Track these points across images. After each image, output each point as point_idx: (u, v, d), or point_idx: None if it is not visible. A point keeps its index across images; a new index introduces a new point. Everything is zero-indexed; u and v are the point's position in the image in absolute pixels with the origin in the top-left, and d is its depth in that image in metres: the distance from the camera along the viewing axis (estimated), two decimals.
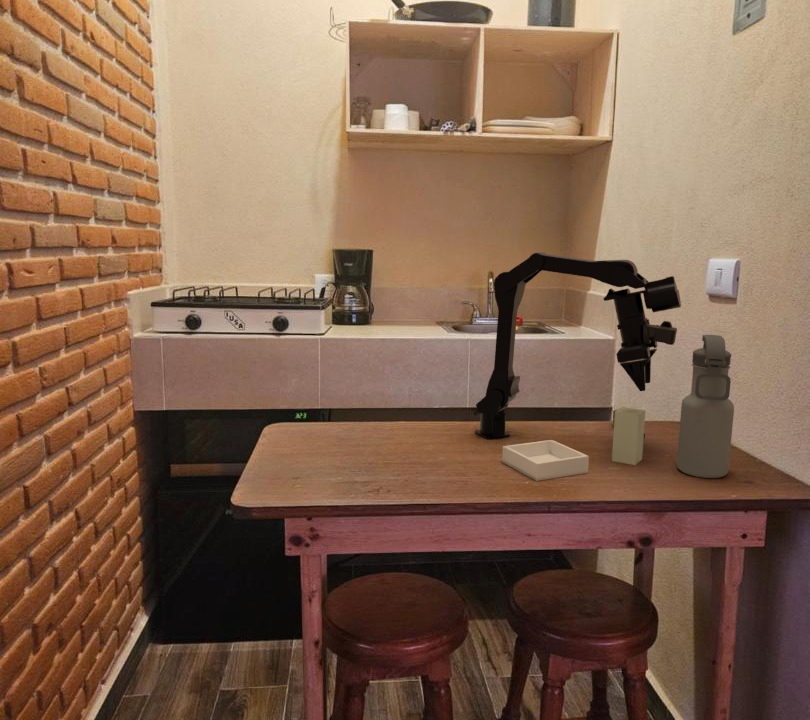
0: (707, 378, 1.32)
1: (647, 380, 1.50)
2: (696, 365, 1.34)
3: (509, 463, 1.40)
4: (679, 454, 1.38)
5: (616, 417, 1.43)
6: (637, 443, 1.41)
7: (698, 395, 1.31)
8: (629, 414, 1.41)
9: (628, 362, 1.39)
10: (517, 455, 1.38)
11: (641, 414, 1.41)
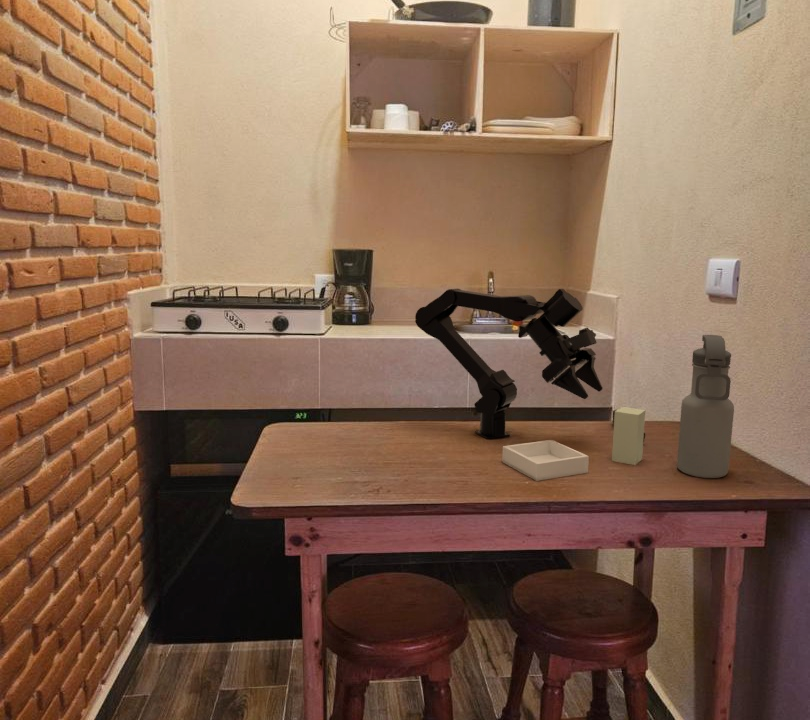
0: (707, 378, 1.32)
1: (599, 388, 1.51)
2: (696, 365, 1.34)
3: (509, 463, 1.40)
4: (679, 454, 1.38)
5: (616, 417, 1.43)
6: (637, 443, 1.41)
7: (698, 395, 1.31)
8: (629, 414, 1.41)
9: (556, 378, 1.43)
10: (517, 455, 1.38)
11: (641, 414, 1.41)
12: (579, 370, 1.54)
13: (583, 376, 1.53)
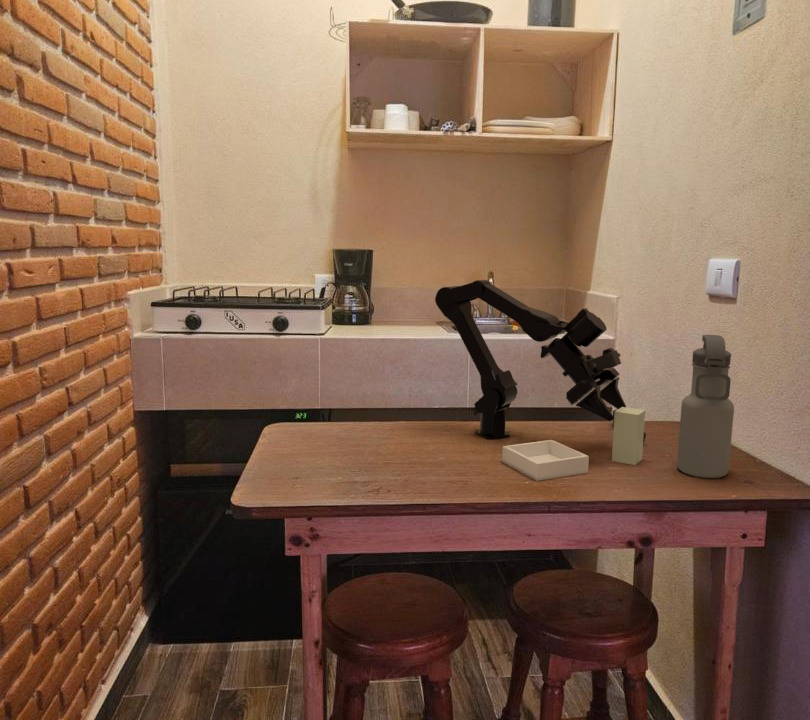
0: (707, 378, 1.32)
1: None
2: (696, 365, 1.34)
3: (509, 463, 1.40)
4: (679, 454, 1.38)
5: (616, 417, 1.43)
6: (637, 443, 1.41)
7: (698, 395, 1.31)
8: (629, 414, 1.41)
9: (581, 400, 1.41)
10: (517, 455, 1.38)
11: (641, 414, 1.41)
12: (603, 390, 1.51)
13: (607, 397, 1.51)
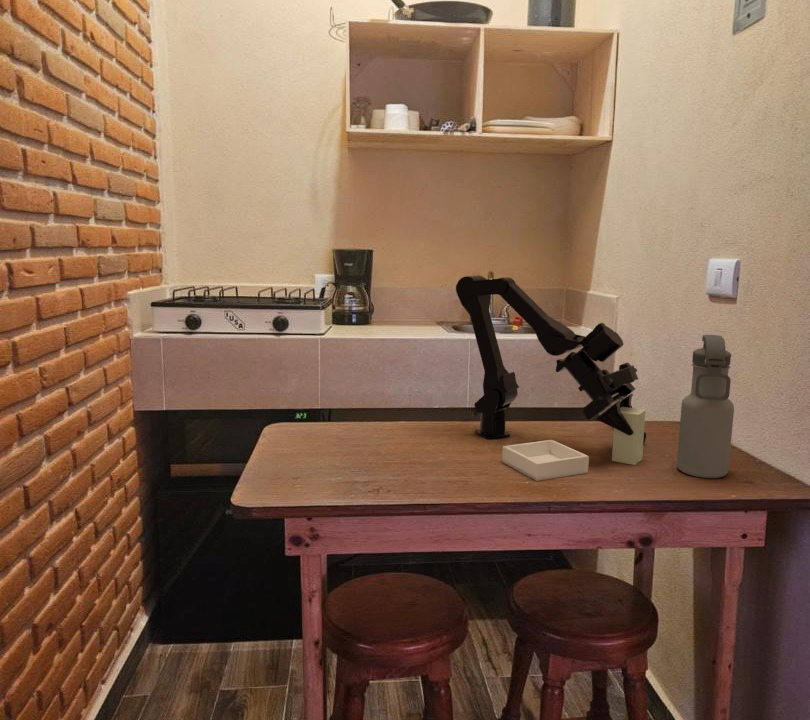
0: (707, 378, 1.32)
1: None
2: (696, 365, 1.34)
3: (509, 463, 1.40)
4: (679, 454, 1.38)
5: None
6: (637, 443, 1.41)
7: (698, 395, 1.31)
8: (629, 414, 1.41)
9: (600, 414, 1.41)
10: (517, 455, 1.38)
11: (641, 414, 1.41)
12: None
13: None
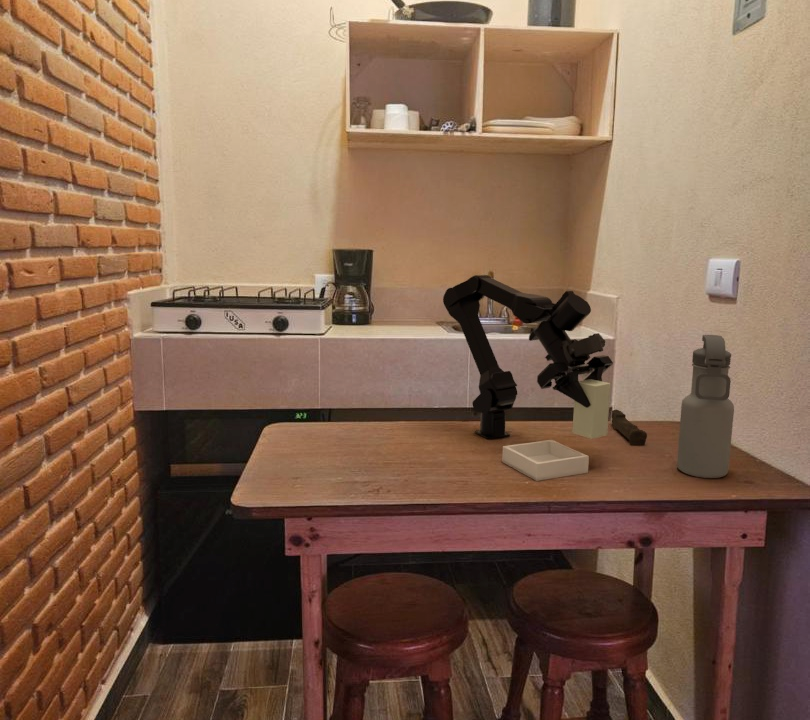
0: (707, 378, 1.32)
1: None
2: (696, 365, 1.34)
3: (509, 463, 1.40)
4: (679, 454, 1.38)
5: None
6: (595, 416, 1.36)
7: (698, 395, 1.31)
8: (587, 385, 1.36)
9: (556, 383, 1.38)
10: (517, 455, 1.38)
11: (601, 386, 1.36)
12: (586, 379, 1.43)
13: None
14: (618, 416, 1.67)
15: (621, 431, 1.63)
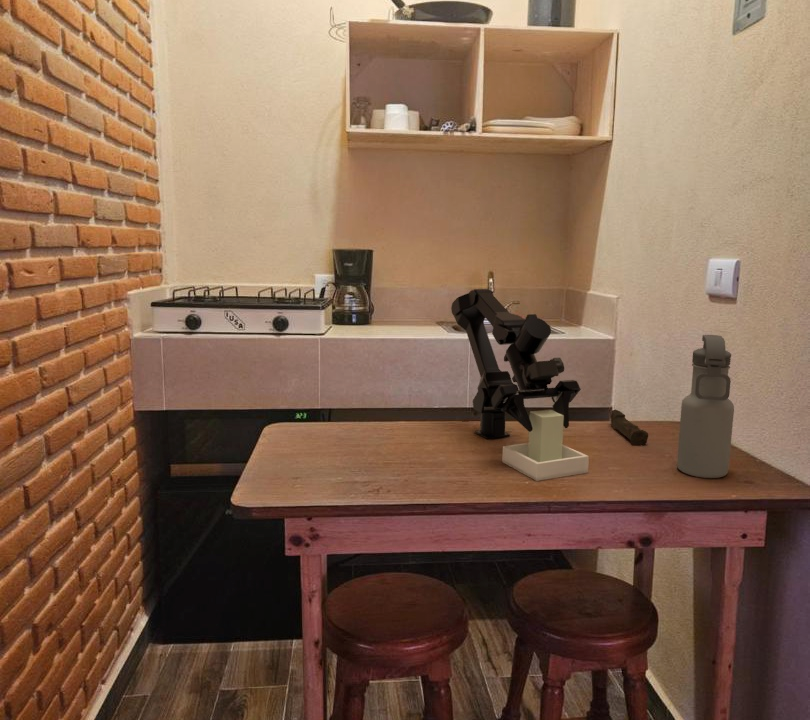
0: (707, 378, 1.32)
1: (565, 424, 1.39)
2: (696, 365, 1.34)
3: (509, 463, 1.40)
4: (679, 454, 1.38)
5: (530, 417, 1.39)
6: (543, 447, 1.36)
7: (698, 395, 1.31)
8: (537, 416, 1.37)
9: (503, 405, 1.39)
10: (517, 455, 1.38)
11: (551, 418, 1.36)
12: (556, 402, 1.43)
13: (557, 410, 1.42)
14: (618, 416, 1.67)
15: (621, 431, 1.63)
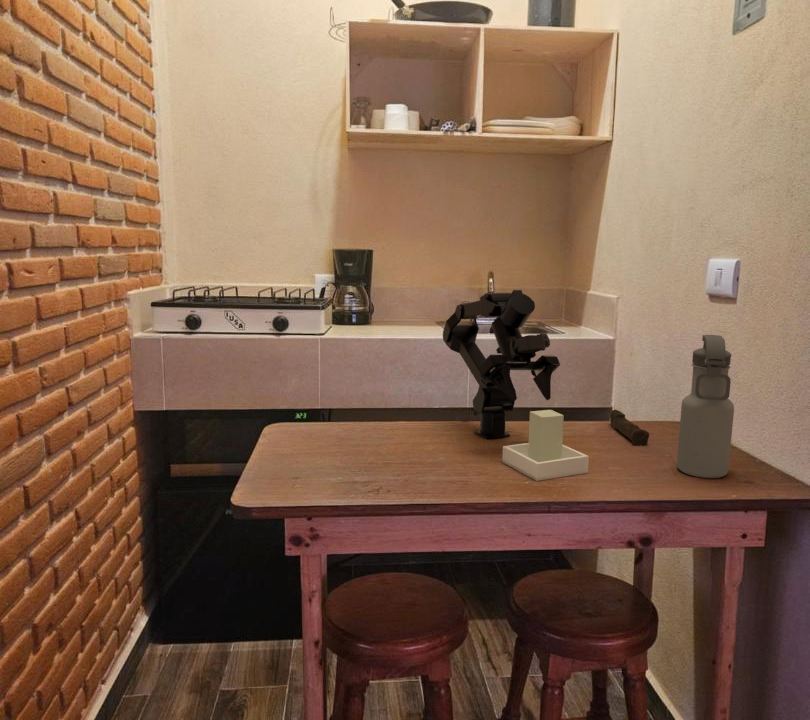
0: (707, 378, 1.32)
1: (547, 396, 1.47)
2: (696, 365, 1.34)
3: (509, 463, 1.40)
4: (679, 454, 1.38)
5: (530, 417, 1.39)
6: (543, 447, 1.36)
7: (698, 395, 1.31)
8: (537, 416, 1.37)
9: (489, 375, 1.45)
10: (517, 455, 1.38)
11: (551, 418, 1.36)
12: (537, 376, 1.51)
13: (539, 382, 1.51)
14: (618, 416, 1.67)
15: (622, 431, 1.63)
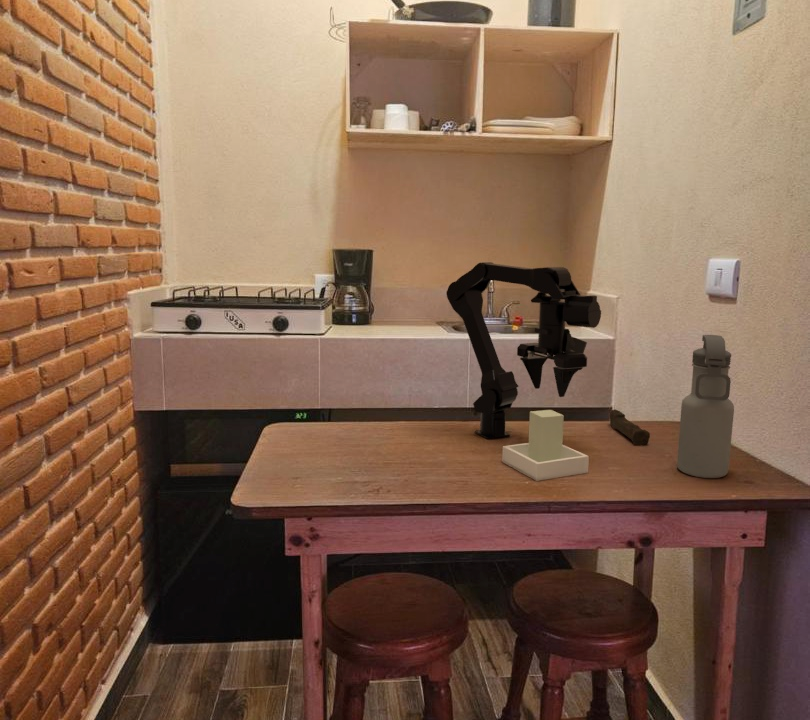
0: (707, 378, 1.32)
1: (538, 386, 1.55)
2: (696, 365, 1.34)
3: (509, 463, 1.40)
4: (679, 454, 1.38)
5: (530, 417, 1.39)
6: (543, 447, 1.36)
7: (698, 395, 1.31)
8: (537, 416, 1.37)
9: (568, 368, 1.42)
10: (517, 455, 1.38)
11: (551, 418, 1.36)
12: (533, 360, 1.54)
13: (532, 367, 1.54)
14: (618, 416, 1.67)
15: (622, 431, 1.63)
